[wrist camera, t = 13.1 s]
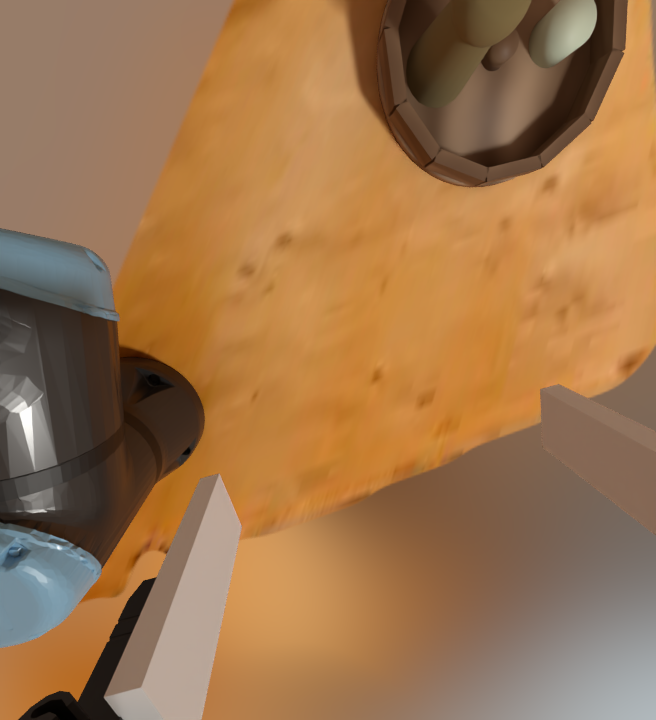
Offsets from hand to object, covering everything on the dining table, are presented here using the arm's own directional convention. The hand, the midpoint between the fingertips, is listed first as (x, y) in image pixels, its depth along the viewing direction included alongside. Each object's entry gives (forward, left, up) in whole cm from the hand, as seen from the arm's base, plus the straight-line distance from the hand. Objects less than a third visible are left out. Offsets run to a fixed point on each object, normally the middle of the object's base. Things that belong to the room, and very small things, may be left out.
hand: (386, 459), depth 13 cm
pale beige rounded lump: (+27, +22, -26) cm, 43 cm away
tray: (+21, +22, -27) cm, 40 cm away
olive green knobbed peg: (+16, +22, -26) cm, 37 cm away
